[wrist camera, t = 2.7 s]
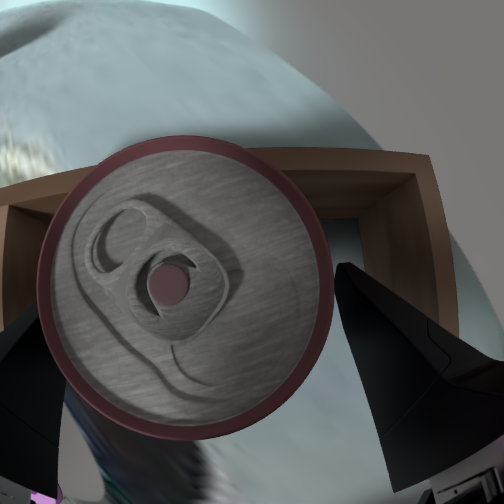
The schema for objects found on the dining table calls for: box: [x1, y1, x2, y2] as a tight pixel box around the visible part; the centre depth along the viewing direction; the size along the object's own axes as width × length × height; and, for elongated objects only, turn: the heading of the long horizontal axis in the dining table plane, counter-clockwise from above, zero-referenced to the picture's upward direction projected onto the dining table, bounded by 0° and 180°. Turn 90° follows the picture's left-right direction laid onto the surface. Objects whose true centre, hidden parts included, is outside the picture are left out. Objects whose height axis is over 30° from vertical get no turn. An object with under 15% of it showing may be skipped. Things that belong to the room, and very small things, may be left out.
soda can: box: [37, 135, 334, 440], centre depth 11 cm, size 7×7×12 cm
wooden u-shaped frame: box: [0, 147, 459, 338], centre depth 13 cm, size 9×21×7 cm, turn 94°
